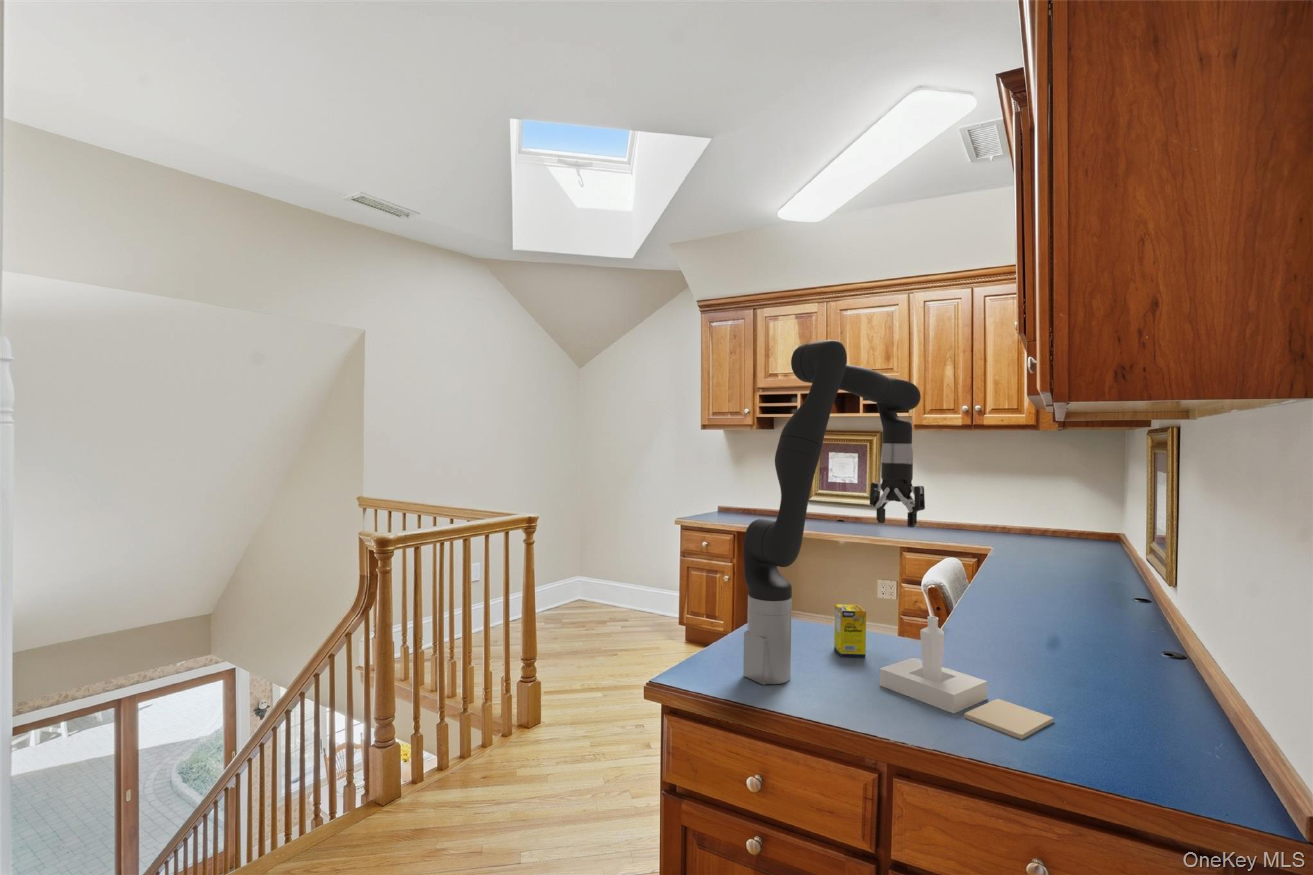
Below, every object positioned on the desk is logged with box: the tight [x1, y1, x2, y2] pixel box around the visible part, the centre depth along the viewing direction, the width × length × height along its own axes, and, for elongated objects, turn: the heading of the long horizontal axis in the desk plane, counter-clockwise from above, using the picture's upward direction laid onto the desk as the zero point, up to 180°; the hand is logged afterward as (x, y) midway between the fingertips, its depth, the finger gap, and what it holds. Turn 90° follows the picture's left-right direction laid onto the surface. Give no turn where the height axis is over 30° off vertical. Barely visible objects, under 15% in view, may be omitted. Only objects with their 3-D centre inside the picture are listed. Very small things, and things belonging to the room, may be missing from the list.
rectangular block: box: [879, 657, 988, 714], centre depth 127 cm, size 12×16×4 cm
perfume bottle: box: [919, 615, 945, 683], centre depth 127 cm, size 5×4×15 cm
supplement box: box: [833, 603, 867, 658], centre depth 149 cm, size 6×6×11 cm
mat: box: [963, 698, 1054, 740], centre depth 115 cm, size 12×10×1 cm
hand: (896, 524), depth 160 cm, fingers open, 8 cm apart
